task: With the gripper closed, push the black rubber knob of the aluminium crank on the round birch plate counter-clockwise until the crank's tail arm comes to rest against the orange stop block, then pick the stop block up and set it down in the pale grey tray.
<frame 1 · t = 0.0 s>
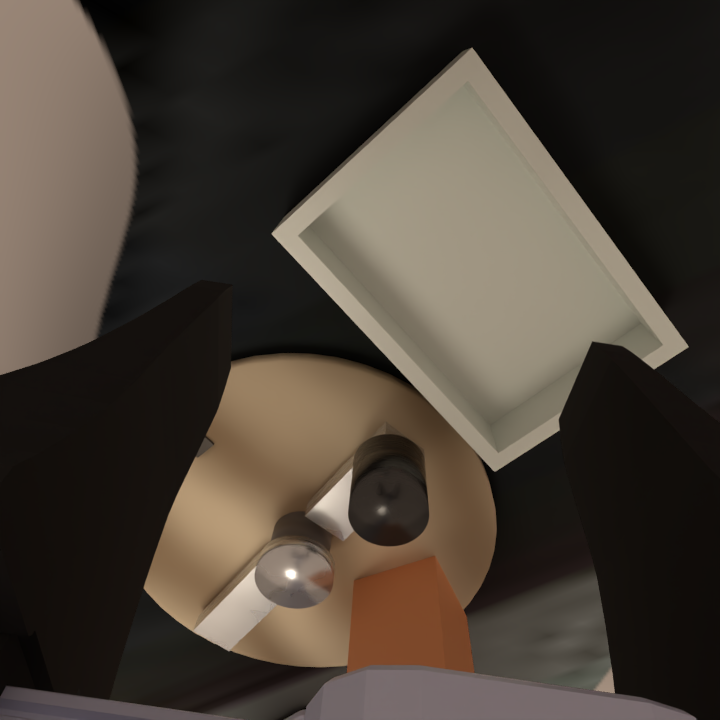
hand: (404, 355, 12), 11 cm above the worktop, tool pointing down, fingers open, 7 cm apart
stop block: (410, 598, 28), point 1 cm above the worktop, touching crank plate
tray: (475, 269, 22), on the worktop
crank plate: (304, 522, 28), on the worktop
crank: (298, 569, 25), point 3 cm above the worktop, hinge at 0.0°
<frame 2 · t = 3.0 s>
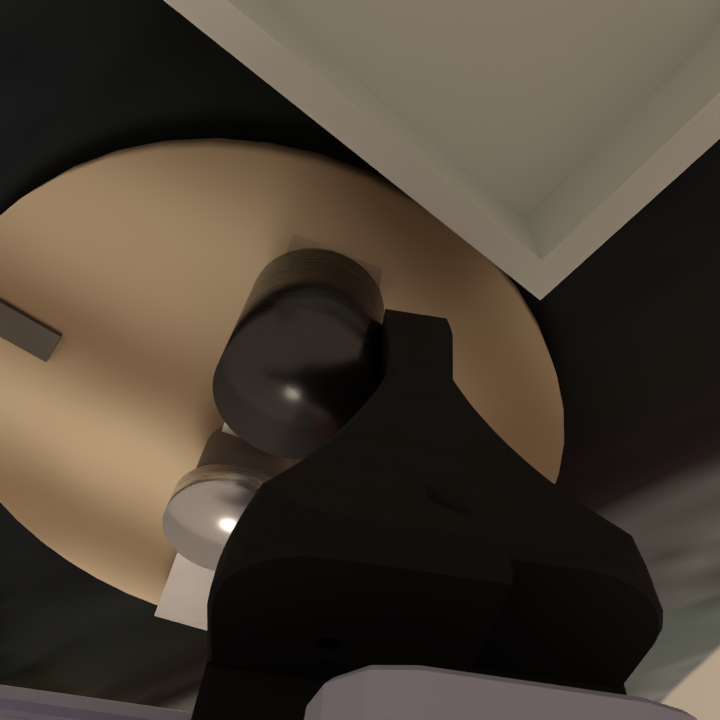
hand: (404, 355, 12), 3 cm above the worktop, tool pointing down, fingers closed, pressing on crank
crank plate: (256, 438, 18), on the worktop
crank: (233, 516, 15), point 3 cm above the worktop, hinge at 5.4°, touching gripper
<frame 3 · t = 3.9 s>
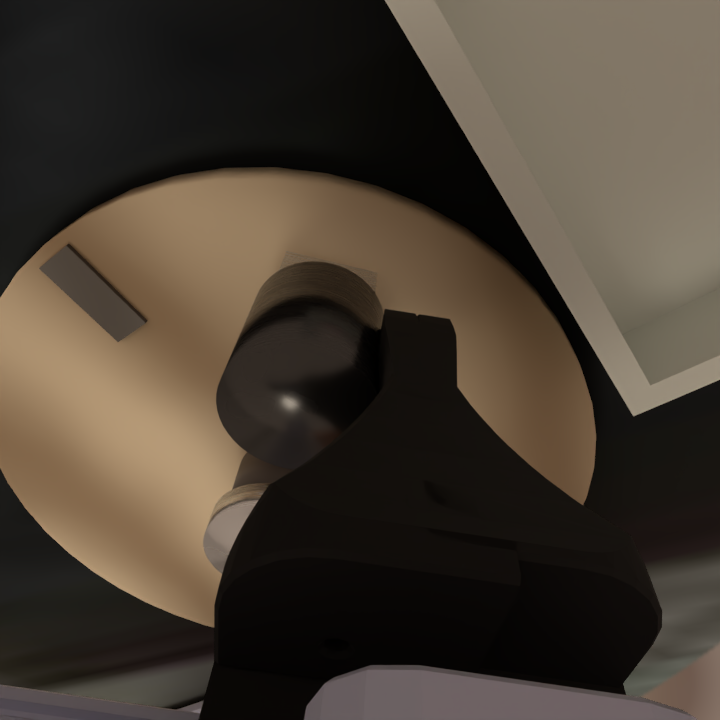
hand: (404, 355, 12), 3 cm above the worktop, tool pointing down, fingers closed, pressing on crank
tray: (677, 24, 11), on the worktop
crank plate: (289, 455, 18), on the worktop
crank: (271, 534, 15), point 3 cm above the worktop, hinge at 31.5°, touching gripper
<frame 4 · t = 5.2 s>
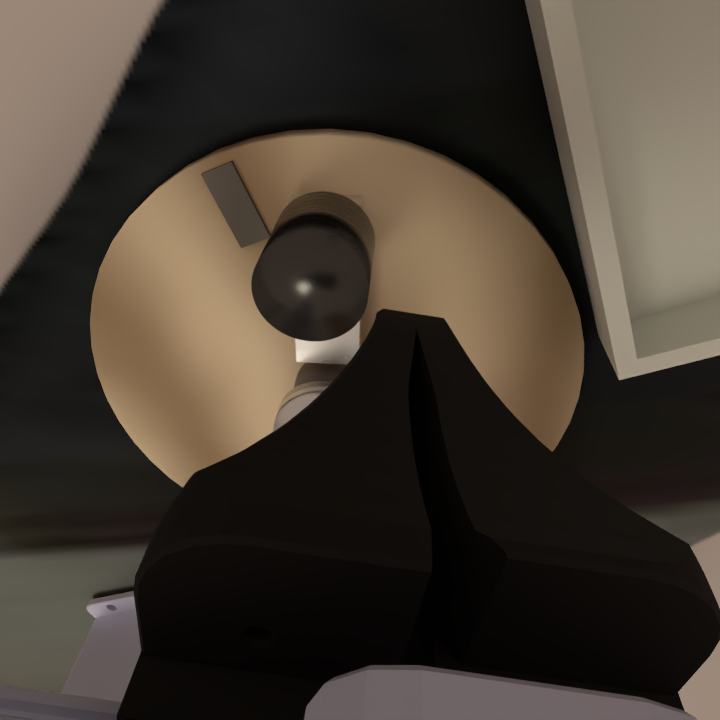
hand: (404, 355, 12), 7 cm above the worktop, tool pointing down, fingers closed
tray: (713, 113, 16), on the worktop
crank plate: (335, 372, 22), on the worktop
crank: (324, 423, 19), point 3 cm above the worktop, hinge at 57.2°
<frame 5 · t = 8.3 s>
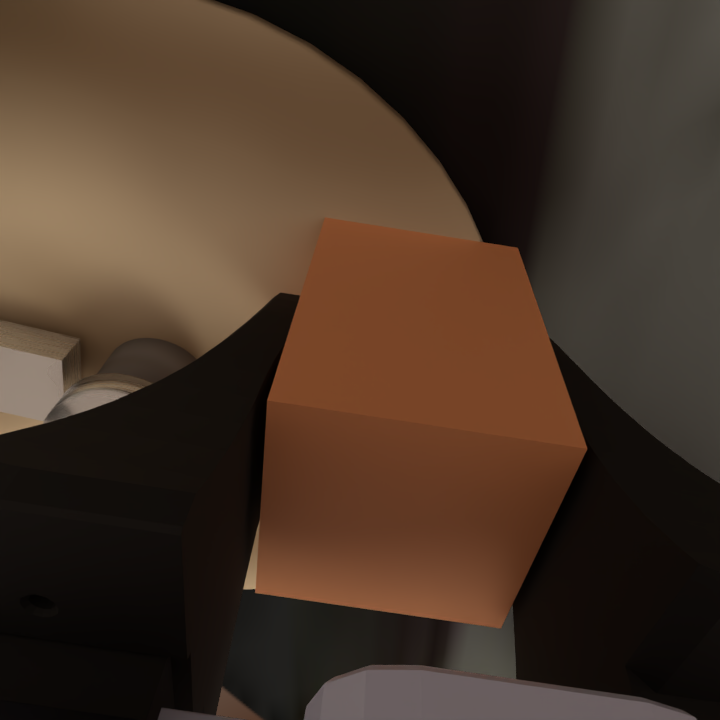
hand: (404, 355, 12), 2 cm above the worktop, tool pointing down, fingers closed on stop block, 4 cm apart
stop block: (404, 315, 14), point 1 cm above the worktop, touching crank plate, gripper
crank plate: (169, 363, 16), on the worktop
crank: (114, 440, 13), point 3 cm above the worktop, hinge at 57.2°
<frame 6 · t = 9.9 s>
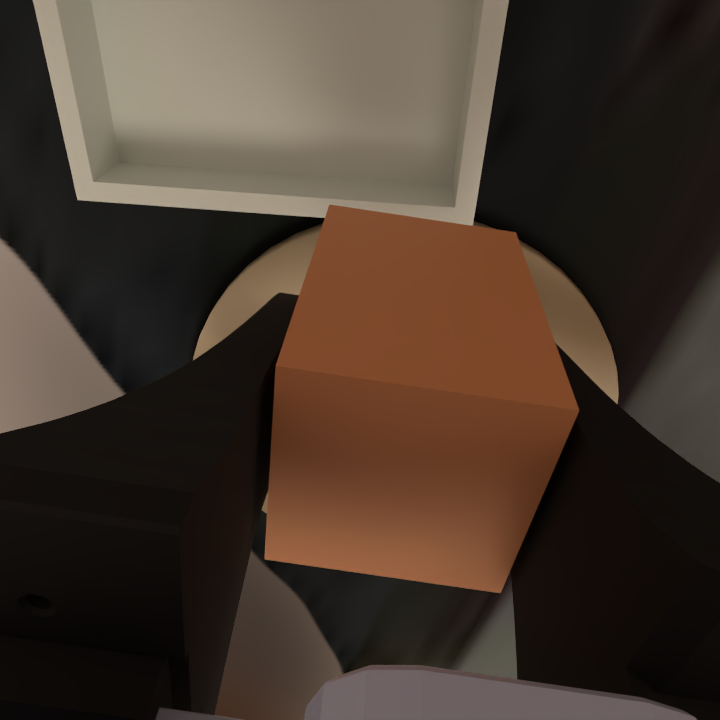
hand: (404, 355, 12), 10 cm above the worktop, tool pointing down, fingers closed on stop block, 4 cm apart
stop block: (406, 300, 14), point 7 cm above the worktop, touching gripper
tray: (284, 54, 18), on the worktop
crank plate: (398, 407, 25), on the worktop
when the fingers open (3 cm above the worktop, at t = 11.7 s): stop block stays where it is, resting on tray.
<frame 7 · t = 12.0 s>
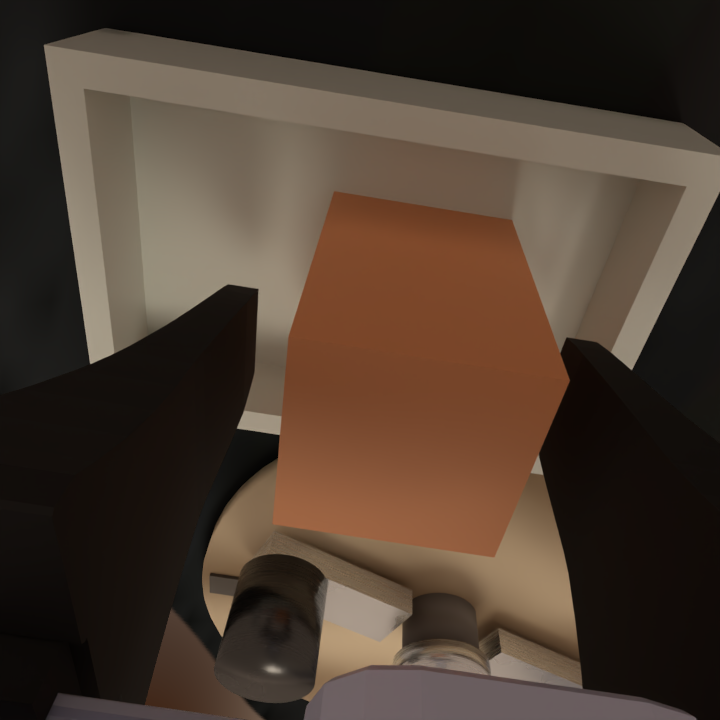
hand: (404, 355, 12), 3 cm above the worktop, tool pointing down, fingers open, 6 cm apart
stop block: (406, 285, 15), resting on tray
tray: (368, 253, 15), on the worktop
crank plate: (438, 595, 22), on the worktop
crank: (436, 675, 20), point 3 cm above the worktop, hinge at 57.2°
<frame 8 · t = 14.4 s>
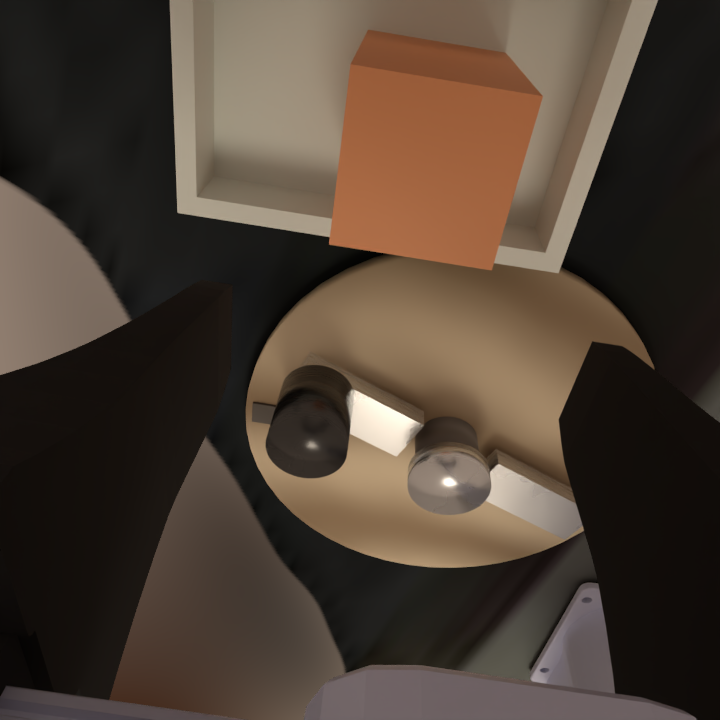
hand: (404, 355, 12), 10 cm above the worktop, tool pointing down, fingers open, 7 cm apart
stop block: (423, 114, 18), resting on tray
tray: (392, 90, 19), on the worktop
crank plate: (445, 427, 26), on the worktop
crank: (444, 477, 24), point 3 cm above the worktop, hinge at 57.2°
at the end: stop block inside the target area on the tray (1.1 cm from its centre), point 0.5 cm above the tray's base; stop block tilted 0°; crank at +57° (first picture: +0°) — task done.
